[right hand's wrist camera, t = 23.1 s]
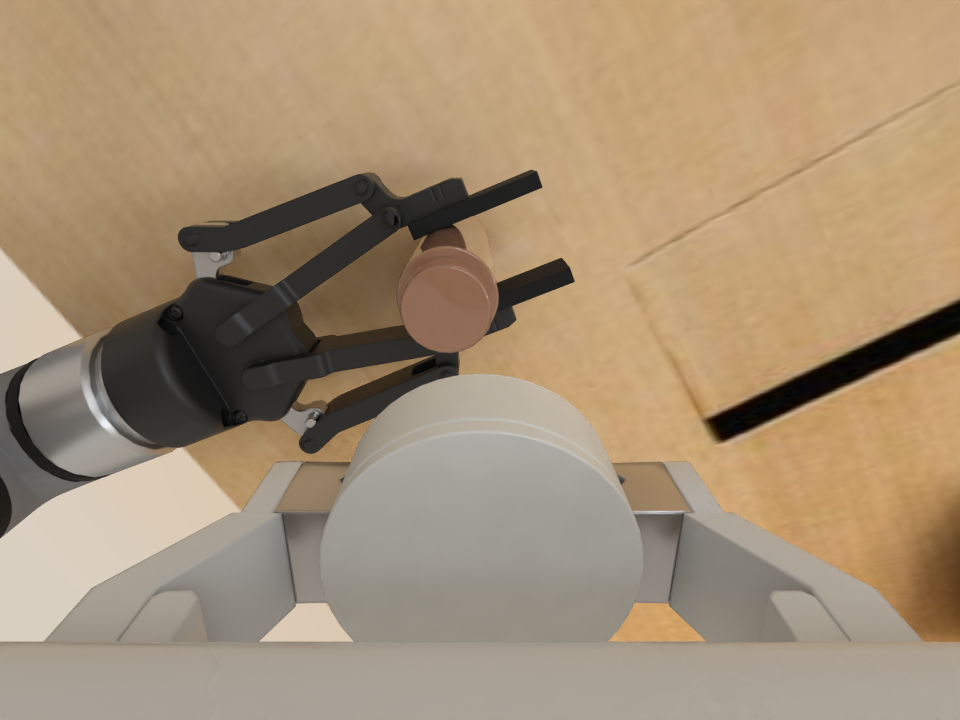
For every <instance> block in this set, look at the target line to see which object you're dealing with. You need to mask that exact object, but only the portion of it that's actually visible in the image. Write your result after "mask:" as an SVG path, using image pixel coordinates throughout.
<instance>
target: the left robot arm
mask: <svg viewBox="0 0 960 720" xmlns="http://www.w3.org/2000/svg"><path fill="white" fill-rule="evenodd" d="M540 188H542V185H541V182H540V179H539V176H538V173H537V171H534V170H529V171H527V172H524V173H522V174H520V175H517V176H515V177H512V178H510V179H508V180H505V181H503V182H501V183H498V184H496V185H493V186H491V187H489V188H486V189H484V190H481V191H479V192H477V193H474V194H472V195H468V192H467V190H466V187H465V185H464V182H463V179H462V178H450V179H447V180H445V181H442V182H440V183H438V184H435V185H433V186H431V187H428V188H426V189H424V190H421V191H419V192H417V193H414V194H412V195H409V196H407V197H398V196H396V195H394V194H392V193H391V192H390V191H389V190H388V189H387V188H386V186H385V185H384V184H383V183H382V182H381V180H380V178H379V177H378V176H377V175H376V174H374V173H363V174H358V175H355V176H352V177H350V178H347V179H345V180H342V181H339V182H337V183H334V184H332V185H329V186H327V187H324V188H322V189H319V190H317V191H314V192H311V193H309V194H306V195H304V196H301V197H299V198H296V199H294V200H291V201H288V202H286V203H283V204H281V205H278V206H276V207H273V208H271V209H268V210H266V211H263V212H260V213H258V214H255V215H253V216H250V217H248V218H245V219H243V220H240V221H208V222H204V223H200V224H196V225H192V226H189V227H185V228H183V229H182V230H180V232H179V234H178V241H179V243H180V245H181V246H182V247H183V249H185V250H187V251H189V252H192V256H193V262H194V267H195V273H196V278H197V279H196V280H194V281H193V282H191V283H190V284H189V285H188V287H187V289H186V290H185V292H184V293H183V294H182V295H181V296H180V297H179V298H176V299H174V300H172V301H169V302H167V303H165V304H162V305H160V306H158V307H155V308H153V309H150V310H148V311H146V312H143V313H141V314H139V315H136V316H134V317H132V318H129V319H127V320H125V321H122V322H120V323H119V324H117V325H115V326H114V327H113V328H106V329H104V330H102V331H99V332H97V333H94V334H92V335H90V336H87V337H85V338H82V339H80V340H78V341H75V342H73V343H70V344H68V345H66V346H63V347H61V348H59V349H56V350H54V351H51V352H49V353H46V354H44V355H43V356H41V357H39V358H37V359H35V360H33V361H31V362H29V363H27V364H25V365H22V366H20V367H17V368H15V369H12V370H10V371H7V372H4V373H2V374H0V538H1V537H3V536H4V535H5V534H6V533H7V532H9V531H10V530H11V529H12V528H14V527H15V526H16V525H17V524H19V523H20V522H21V521H22V520H23V519H25V518H26V517H27V516H28V515H29V514H31V513H32V512H33V511H34V510H36V509H37V508H38V507H40V506H41V505H42V504H44V503H45V502H47V501H49V500H50V499H52V498H54V497H56V496H58V495H60V494H62V493H65V492H67V491H70V490H72V489H75V488H77V487H80V486H82V485H85V484H87V483H90V482H93V481H95V480H97V479H100V478H103V477H106V476H109V475H111V474H113V473H116V472H119V471H121V470H124V469H127V468H130V467H132V466H135V465H137V464H140V463H143V462H146V461H148V460H151V459H154V458H156V457H159V456H162V455H164V454H167V453H170V452H172V451H173V450H175V449H176V448H180V447H185V446H187V445H190V444H193V443H195V442H198V441H200V440H203V439H206V438H208V437H211V436H214V435H216V434H219V433H222V432H224V431H227V430H229V429H232V428H235V427H237V426H240V425H242V424H244V423H247V422H249V421H255V420H263V421H276V420H279V419H280V420H282V421H283V422H284V423H285V424H287V425H288V426H289V427H290V428H291V429H293V430H294V431H295V432H296V433H298V434H299V435H300V436H301V439H300V440H299V446H300V448H301V449H302V450H303V451H304V452H306V453H310V454H312V453H316V452H318V451H319V450H320V449H321V448H322V447H323V446H324V445H325V444H326V443H327V442H329V441H330V440H331V439H332V438H333V437H334V436H335V435H336V434H337V433H338V432H341V431H343V430H346V429H348V428H351V427H353V426H355V425H358V424H360V423H363V422H365V421H368V420H370V419H372V418H375V417H377V416H378V415H379V414H380V413H381V412H382V411H383V410H384V409H386V408H387V407H388V406H389V405H390V404H391V403H393V402H394V401H396V400H397V399H398V398H400V397H401V396H403V395H404V394H406V393H408V392H410V391H412V390H414V389H416V388H418V387H420V386H422V385H425V384H428V383H430V382H433V381H436V380H439V379H444V378H448V377H452V376H458V375H459V361H460V360H459V352H454V353H443V352H437V351H433V350H430V349H427V348H426V347H424V346H422V345H421V344H419V343H417V342H416V341H415V340H414V339H413V338H412V337H411V336H410V335H409V334H408V332H407V330H406V328H405V326H404V325H400V326H395V327H389V328H383V329H377V330H371V331H366V332H360V333H354V334H348V335H342V336H335V335H328V336H323V337H317V338H316V337H315V335H314V333H313V332H312V331H311V330H310V329H309V328H308V326H307V325H306V324H305V323H304V322H303V318H302V314H301V310H300V307H299V305H298V303H297V301H298V300H299V299H300V298H302V297H303V296H305V295H306V294H308V293H309V292H310V291H312V290H313V289H315V288H316V287H317V286H319V285H320V284H322V283H323V282H325V281H326V280H327V279H329V278H330V277H332V276H333V275H335V274H336V273H337V272H339V271H340V270H342V269H343V268H345V267H346V266H347V265H349V264H350V263H352V262H353V261H354V260H356V259H357V258H359V257H360V256H362V255H363V254H364V253H366V252H367V251H369V250H370V249H372V248H373V247H374V246H376V245H377V244H379V243H380V242H382V241H383V240H384V239H386V238H387V237H389V236H390V235H391V234H393V233H394V232H396V231H397V230H398V229H400V228H403V227H405V226H407V225H408V227H409V230H410V232H411V234H412V237H413V239H414V240H416V239H419V238H421V237H424V236H426V235H428V234H431V233H433V232H436V231H438V230H441V229H443V228H445V227H448V226H450V225H453V224H455V223H457V222H460V221H462V220H465V219H467V218H470V217H472V216H474V215H477V214H479V213H482V212H484V211H487V210H489V209H491V208H494V207H496V206H499V205H501V204H503V203H506V202H508V201H511V200H513V199H516V198H518V197H520V196H523V195H525V194H528V193H530V192H533V191H535V190H537V189H540ZM359 203H361V204H362V205H363V206H364V207H365V208H366V209H367V210H368V211H369V212H370V213H371V214H372V215H373V216H371V217H370V218H368V219H367V220H366V221H364V222H363V223H361V224H360V225H359V226H357V227H356V228H355V229H353V230H352V231H350V232H349V233H348V234H346V235H345V236H343V237H342V238H341V239H339V240H338V241H336V242H335V243H334V244H332V245H331V246H329V247H328V248H327V249H325V250H324V251H322V252H321V253H320V254H318V255H317V256H315V257H314V258H313V259H311V260H310V261H308V262H307V263H306V264H304V265H303V266H302V267H300V268H299V269H297V270H296V271H295V272H293V273H292V274H290V275H289V276H288V277H286V278H285V279H283V280H282V281H281V282H279V283H278V284H276V285H275V286H270V285H266V284H262V283H257V282H253V281H249V280H245V279H240V278H236V277H232V276H228V275H224V268H225V266H226V265H228V264H231V263H233V262H235V261H237V260H238V259H239V257H240V255H241V248H244V247H247V246H250V245H252V244H255V243H258V242H260V241H263V240H265V239H268V238H271V237H273V236H276V235H278V234H281V233H284V232H286V231H289V230H291V229H294V228H296V227H299V226H302V225H304V224H307V223H309V222H312V221H315V220H317V219H320V218H322V217H325V216H328V215H330V214H333V213H335V212H338V211H341V210H343V209H346V208H348V207H351V206H354V205H356V204H359ZM573 282H575V281H574V278H573V275H572V272H571V269H570V267H569V266H568V265H567V264H566V262H565V261H564V260H563V259H562V258H559V259H557V260H554V261H552V262H549V263H547V264H544V265H542V266H539V267H537V268H534V269H532V270H529V271H526V272H524V273H521V274H519V275H516V276H514V277H511V278H509V279H506V280H504V281H501V282H498V283H497V287H498V306H497V310H496V313H495V316H494V318H493V320H492V322H491V324H490V327H489V330H488V331H487V332H486V334H485V335H484V336H486V335H489V334H491V333H494V332H496V331H498V330H502V329H504V328H507V327H509V326H510V325H511V324H512V323H514V322H515V321H516V317H515V313H514V310H513V307H512V306H513V305H516V304H519V303H521V302H524V301H526V300H529V299H532V298H534V297H537V296H539V295H542V294H544V293H547V292H550V291H552V290H555V289H557V288H560V287H563V286H565V285H568V284H570V283H573ZM432 355H434V356H432ZM426 356H432V357H429V358H427V359H425V360H422V361H420V362H417V363H415V364H413V365H410V366H408V367H405V368H403V369H401V370H398V371H396V372H394V373H391V374H389V375H386V376H384V377H382V378H379V379H377V380H374V381H372V382H370V383H367V384H365V385H363V386H360V387H358V388H355V389H353V390H351V391H348V392H346V393H344V394H342V395H340V396H338V397H336V398H335V399H333V400H332V401H331V402H329V403H328V404H326V402H325V401H322V400H320V401H314V402H312V403H310V404H306V405H304V404H300V403H298V402H296V400H297V398H298V396H299V395H300V393H301V391H302V389H303V388H304V386H305V384H306V382H307V381H308V380H309V379H315V378H321V377H324V376H327V375H328V374H330V373H333V372H337V371H343V370H349V369H355V368H361V367H367V366H373V365H379V364H385V363H391V362H396V361H402V360H408V359H414V358H420V357H426Z"/></svg>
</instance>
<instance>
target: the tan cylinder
mask: <svg viewBox="0 0 960 720" xmlns="http://www.w3.org/2000/svg"><path fill="white" fill-rule="evenodd" d="M397 303H398V308H399V312H400V315H401V319H402V323H403V325H404V326H405V328H406V330H407V332H408V334H409V335H410V336H411V337H412V338H413V339H414V340H415V341H416V342H417V343H419V344H421V345H422V346H424V347H426V348H427V349H430V350H433V351H437V352H443V353H454V352H459V351H463V350H466V349H468V348H470V347H473V346H474V345H475V344H476V343H477V342H478V341H480V340H481V339H482V338H483V337H484V335H485V334H486V332H487V331H488V330H489V327H490V324H491V322H492V320H493V318H494V316H495V313H496V310H497V306H498V287H497V282H496V277H495V272H494V267H493V262H492V257H491V252H490V247H489V242H488V238H487V234H486V231H485V229H484V227H483V226H482V224H481V223H480V222H479V221H478V220H477V219H476V218H474V217H473V216H472V217H470V218H467V219H465V220H462V221H460V222H457V223H455V224H453V225H450V226H448V227H445V228H443V229H441V230H438V231H436V232H433V233H431V234H428V235H426V236H424V237H422V239H421V240H420V242H419V244H418V246H417V248H416V249H415V251H414V253H413V255H412V256H411V258H410V260H409V262H408V263H407V265H406V267H405V269H404V270H403V272H402V274H401V276H400V279H399V282H398V286H397Z"/></svg>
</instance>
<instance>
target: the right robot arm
mask: <svg viewBox="0 0 960 720" xmlns="http://www.w3.org/2000/svg"><path fill="white" fill-rule="evenodd" d="M350 463H351V462H303V461H281V462H276V463H274V464H273V465H272V467H271V468H270V470H269V471H268V473H267V474H266V476H265V477H264V479H263V480H262V482H261V483H260V485H259V486H258V488H257V489H256V491H255V492H254V494H253V495H252V497H251V498H250V499H249V501H248V502H247V504H246V505H245V507H244V508H243V510H242V511H241V513H231V514H229V515H227V516H225V517H223V518H222V519H220V520H218V521H216V522H214V523H212V524H210V525H209V526H207V527H205V528H203V529H201V530H199V531H197V532H195V533H194V534H192V535H190V536H188V537H186V538H184V539H183V540H181V541H179V542H177V543H175V544H173V545H171V546H169V547H168V548H166V549H164V550H162V551H160V552H158V553H156V554H154V555H153V556H151V557H149V558H147V559H145V560H143V561H141V562H140V563H138V564H136V565H134V566H132V567H130V568H128V569H126V570H125V571H123V572H121V573H119V574H117V575H115V576H113V577H112V578H110V579H108V580H106V581H104V582H102V583H100V584H99V585H97V586H95V587H93V588H91V589H90V591H89V592H88V593H87V594H86V595H85V596H84V597H83V598H82V599H81V601H80V602H79V603H78V604H77V605H76V606H75V607H74V608H73V609H72V611H71V612H70V613H69V614H68V615H67V616H66V617H65V618H64V620H63V621H62V622H61V623H60V624H59V625H58V626H57V627H56V628H55V630H54V631H53V632H52V633H51V634H50V635H49V636H48V637H47V638H46V640H45V641H44V642H0V720H960V642H924V641H923V640H922V639H921V638H920V637H919V636H918V634H917V633H916V632H915V631H914V630H913V629H912V628H911V627H910V626H909V625H908V623H907V622H906V621H905V620H904V619H903V618H902V617H901V616H900V615H899V613H898V612H897V611H896V610H895V609H894V608H893V607H892V606H891V605H890V604H889V602H888V601H887V600H886V599H885V598H884V597H883V596H882V595H881V594H880V593H879V591H878V590H877V589H875V588H873V587H872V586H870V585H868V584H866V583H864V582H862V581H860V580H858V579H857V578H855V577H853V576H851V575H849V574H847V573H845V572H843V571H842V570H840V569H838V568H836V567H834V566H832V565H830V564H828V563H827V562H825V561H823V560H821V559H819V558H817V557H815V556H813V555H812V554H810V553H808V552H806V551H804V550H802V549H800V548H798V547H796V546H795V545H793V544H791V543H789V542H787V541H785V540H783V539H781V538H780V537H778V536H776V535H774V534H772V533H770V532H768V531H766V530H765V529H763V528H761V527H759V526H757V525H755V524H753V523H751V522H750V521H748V520H746V519H744V518H742V517H740V516H738V515H736V514H735V513H725V512H724V511H723V509H722V508H721V507H720V505H719V504H718V502H717V501H716V499H715V498H714V496H713V495H712V494H711V492H710V491H709V489H708V488H707V486H706V485H705V483H704V482H703V481H702V479H701V478H700V476H699V475H698V473H697V472H696V471H695V469H694V468H693V466H692V465H691V463H689V462H687V461H671V462H636V463H612V465H613V467H614V469H615V472H616V474H617V476H618V479H619V481H620V483H621V486H622V488H623V490H624V492H625V495H626V497H627V499H628V502H629V504H630V506H631V509H632V511H633V513H634V516H635V518H636V521H637V524H638V527H639V530H640V533H641V539H642V545H643V573H642V579H641V585H640V588H639V591H638V594H637V597H636V600H635V603H669V606H670V607H671V608H672V609H673V610H674V611H675V612H676V613H677V614H678V615H679V616H681V617H682V618H683V619H684V620H685V621H686V622H687V623H688V624H689V625H690V626H691V627H692V628H693V629H694V630H695V631H696V632H697V633H699V634H700V635H701V636H702V637H703V638H704V639H705V640H706V641H707V642H259V641H260V640H261V639H262V638H263V637H264V636H265V635H266V634H267V633H268V632H269V631H270V630H271V629H272V628H273V627H274V626H275V625H277V624H278V623H279V622H280V621H281V620H282V619H283V618H284V617H285V616H286V615H287V614H288V613H289V612H290V611H291V610H292V609H293V608H294V607H295V606H296V604H295V603H328V602H327V599H326V597H325V594H324V590H323V586H322V583H321V578H320V568H319V552H320V542H321V538H322V534H323V529H324V526H325V524H326V521H327V519H328V517H329V514H330V512H331V509H332V507H333V504H334V502H335V499H336V497H337V495H338V492H339V490H340V487H341V485H342V482H343V480H344V478H345V475H346V473H347V470H348V468H349V465H350Z"/></svg>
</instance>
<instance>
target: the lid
mask: <svg viewBox="0 0 960 720" xmlns="http://www.w3.org/2000/svg"><path fill="white" fill-rule="evenodd" d="M319 568H320V578H321V583H322V586H323V590H324V594H325V597H326V599H327V602H328V604H329V606H330V609H331V611H332V613H333V614H334V616H335V618H336V619H337V621H338V622H339V624H340V625H341V627H342V628H343V629H344V631H345V632H346V633H347V634H348V635H349V636H350V638H351V639H352V640H353V641H354V642H608V640H609V639H610V638H611V637H612V636H613V635H614V634H615V633H616V632H617V631H618V629H619V628H620V626H621V625H622V624H623V622H624V621H625V619H626V618H627V616H628V614H629V612H630V610H631V608H632V607H633V605H634V603H635V600H636V597H637V594H638V591H639V588H640V585H641V579H642V573H643V545H642V539H641V533H640V530H639V527H638V524H637V521H636V518H635V516H634V513H633V511H632V509H631V506H630V504H629V502H628V499H627V497H626V495H625V492H624V490H623V488H622V486H621V483H620V481H619V479H618V476H617V474H616V472H615V469H614V467H613V465H612V462H611V460H610V458H609V455H608V453H607V451H606V448H605V446H604V444H603V442H602V441H601V439H600V437H599V435H598V433H597V432H596V430H595V429H594V428H593V426H592V425H591V423H590V422H589V421H588V419H587V418H586V417H585V416H584V415H583V414H582V413H581V412H580V411H579V410H578V409H577V408H576V407H574V406H573V405H572V404H570V403H569V402H568V401H566V400H565V399H564V398H562V397H561V396H559V395H557V394H556V393H554V392H552V391H550V390H549V389H547V388H544V387H542V386H539V385H537V384H535V383H532V382H530V381H526V380H522V379H519V378H515V377H510V376H503V375H496V374H467V375H458V376H452V377H448V378H444V379H439V380H436V381H433V382H430V383H428V384H425V385H422V386H420V387H418V388H416V389H414V390H412V391H410V392H408V393H406V394H404V395H403V396H401V397H400V398H398V399H397V400H396V401H394V402H393V403H391V404H390V405H389V406H388V407H387V408H386V409H384V410H383V411H382V412H381V413H380V414H379V415H378V416H377V417H376V418H375V420H374V421H373V422H372V423H371V424H370V426H369V427H368V428H367V430H366V431H365V433H364V435H363V436H362V438H361V440H360V441H359V443H358V446H357V448H356V451H355V453H354V456H353V458H352V460H351V463H350V465H349V468H348V470H347V473H346V475H345V478H344V480H343V482H342V485H341V487H340V490H339V492H338V495H337V497H336V499H335V502H334V504H333V507H332V509H331V512H330V514H329V517H328V519H327V521H326V524H325V526H324V529H323V534H322V538H321V542H320V552H319Z"/></svg>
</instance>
